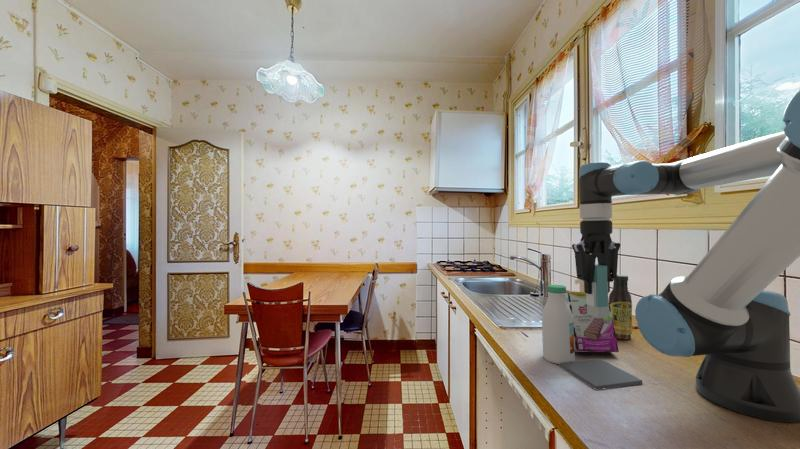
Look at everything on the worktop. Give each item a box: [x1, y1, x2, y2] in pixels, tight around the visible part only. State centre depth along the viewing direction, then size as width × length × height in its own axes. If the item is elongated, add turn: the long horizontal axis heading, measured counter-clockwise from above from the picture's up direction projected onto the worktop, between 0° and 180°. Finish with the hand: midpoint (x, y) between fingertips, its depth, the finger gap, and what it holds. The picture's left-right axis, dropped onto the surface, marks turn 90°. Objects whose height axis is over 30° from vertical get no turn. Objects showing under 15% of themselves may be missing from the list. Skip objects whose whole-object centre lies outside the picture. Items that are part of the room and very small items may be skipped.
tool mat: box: [559, 358, 643, 390], centre depth 76 cm, size 12×12×1 cm
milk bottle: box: [541, 284, 576, 365], centre depth 86 cm, size 8×8×20 cm
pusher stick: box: [587, 263, 609, 318], centre depth 87 cm, size 4×3×14 cm
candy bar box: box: [565, 291, 619, 353], centre depth 91 cm, size 11×5×16 cm, turn 84°
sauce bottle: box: [608, 273, 633, 340], centre depth 101 cm, size 7×6×20 cm
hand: (597, 304), depth 86 cm, fingers closed on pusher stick, 3 cm apart
